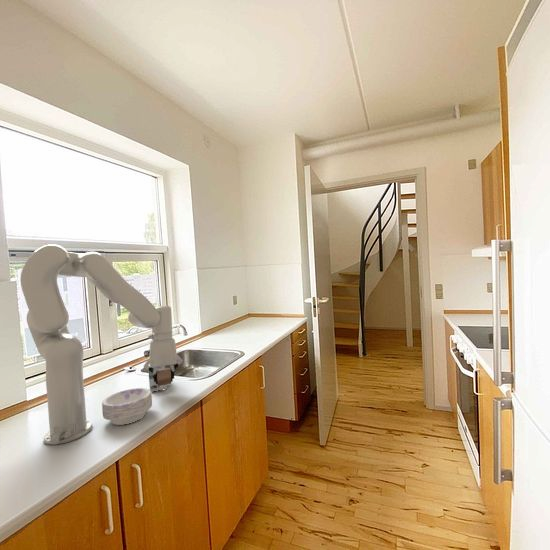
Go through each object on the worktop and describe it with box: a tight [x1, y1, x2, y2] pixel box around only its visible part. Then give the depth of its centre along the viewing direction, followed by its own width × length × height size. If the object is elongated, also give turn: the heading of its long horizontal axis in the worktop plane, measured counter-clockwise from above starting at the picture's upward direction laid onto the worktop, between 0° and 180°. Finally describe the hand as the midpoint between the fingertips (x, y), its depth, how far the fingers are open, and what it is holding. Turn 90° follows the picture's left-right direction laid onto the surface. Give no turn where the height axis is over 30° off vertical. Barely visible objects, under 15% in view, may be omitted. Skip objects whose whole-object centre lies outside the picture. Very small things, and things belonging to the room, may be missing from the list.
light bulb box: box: [147, 364, 167, 393], centre depth 127 cm, size 11×7×11 cm, turn 22°
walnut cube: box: [157, 367, 172, 386], centre depth 116 cm, size 5×5×5 cm
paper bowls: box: [101, 387, 153, 426], centre depth 100 cm, size 15×15×8 cm
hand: (164, 381), depth 116 cm, fingers closed on walnut cube, 4 cm apart
